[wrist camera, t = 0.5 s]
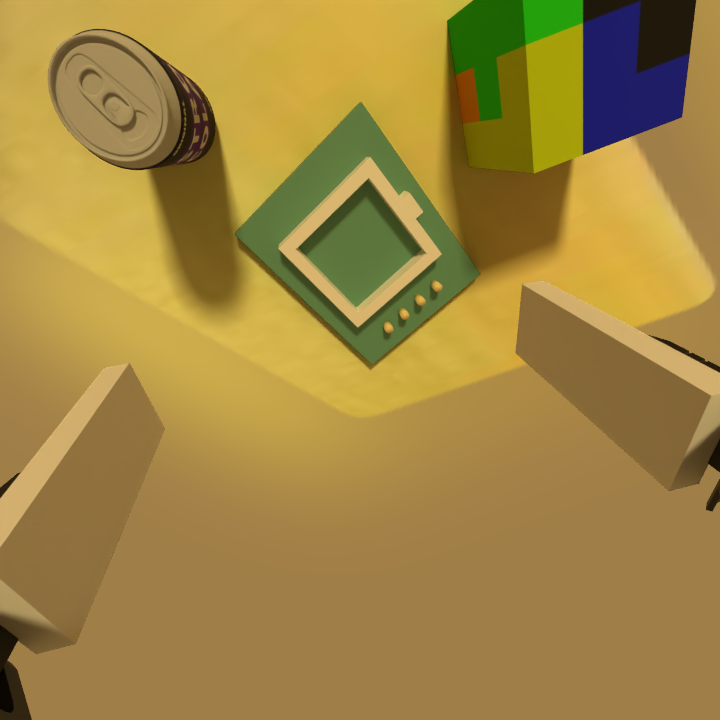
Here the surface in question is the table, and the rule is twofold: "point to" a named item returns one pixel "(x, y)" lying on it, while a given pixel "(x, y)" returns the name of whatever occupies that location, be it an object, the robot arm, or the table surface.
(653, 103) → the puzzle toy
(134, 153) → the beverage can
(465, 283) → the header board
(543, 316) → the robot arm
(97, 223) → the table surface
